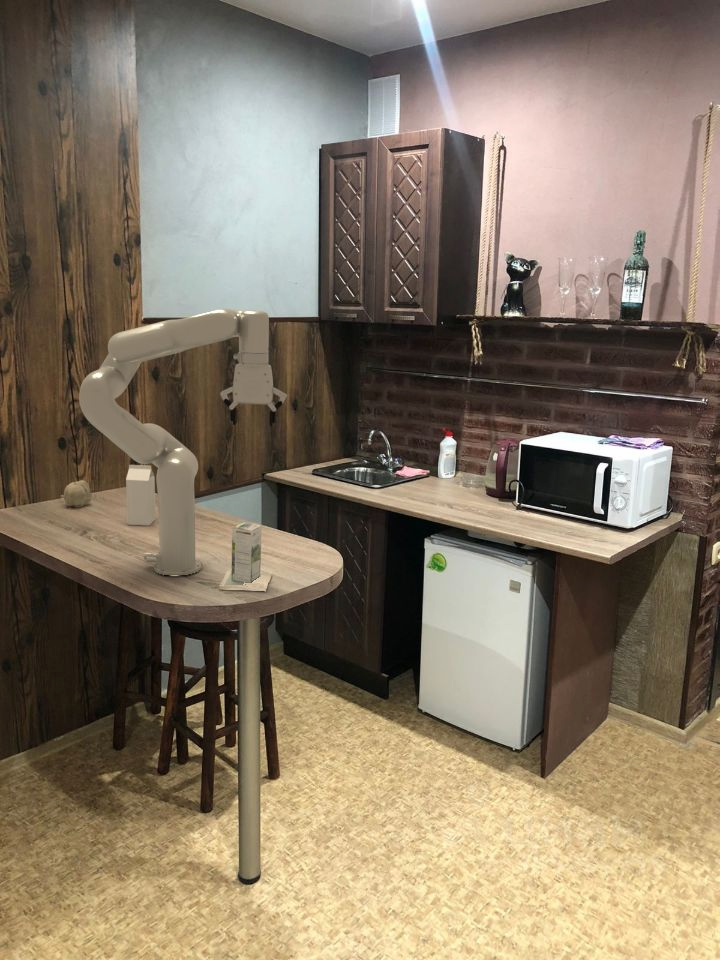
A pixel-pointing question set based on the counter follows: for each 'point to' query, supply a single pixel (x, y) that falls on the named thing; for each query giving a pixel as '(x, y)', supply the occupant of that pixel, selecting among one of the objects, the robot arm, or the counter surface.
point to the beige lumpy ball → (77, 494)
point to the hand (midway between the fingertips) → (253, 424)
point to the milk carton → (140, 495)
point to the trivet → (230, 582)
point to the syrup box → (246, 552)
